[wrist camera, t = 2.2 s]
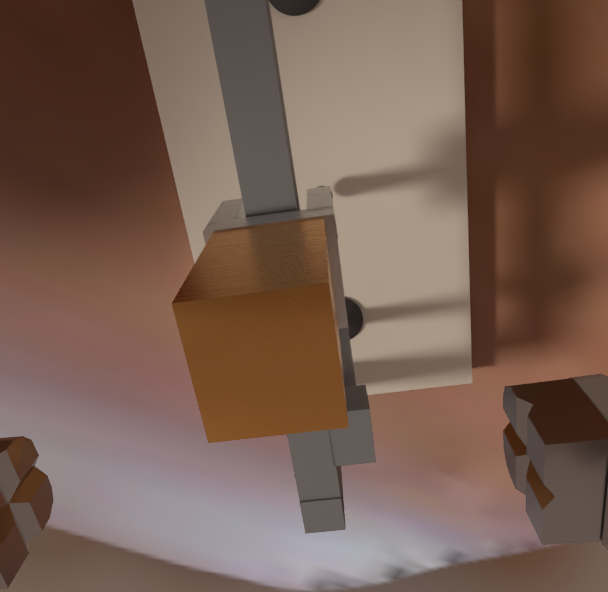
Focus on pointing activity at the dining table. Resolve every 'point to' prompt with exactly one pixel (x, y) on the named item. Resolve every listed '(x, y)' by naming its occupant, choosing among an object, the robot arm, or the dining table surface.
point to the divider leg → (266, 322)
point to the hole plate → (334, 176)
